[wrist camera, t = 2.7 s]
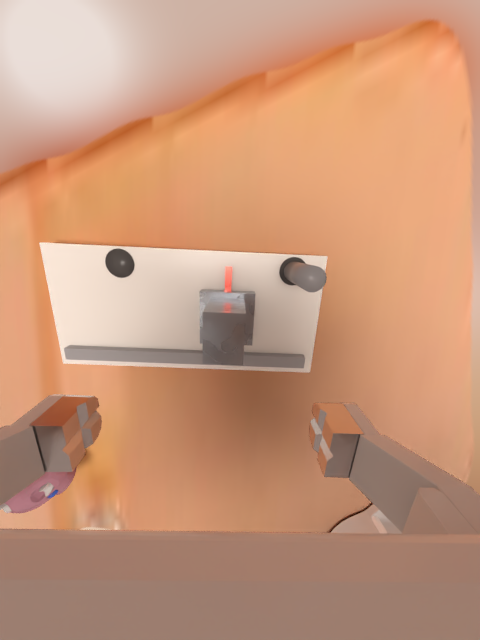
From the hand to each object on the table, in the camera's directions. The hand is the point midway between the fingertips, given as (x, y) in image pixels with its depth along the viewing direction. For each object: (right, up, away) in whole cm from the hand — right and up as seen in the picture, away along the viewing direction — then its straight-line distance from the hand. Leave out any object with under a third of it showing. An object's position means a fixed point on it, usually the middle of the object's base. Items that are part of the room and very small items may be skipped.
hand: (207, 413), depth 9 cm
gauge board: (-4, +5, +16) cm, 17 cm away
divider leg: (0, +5, +13) cm, 14 cm away
